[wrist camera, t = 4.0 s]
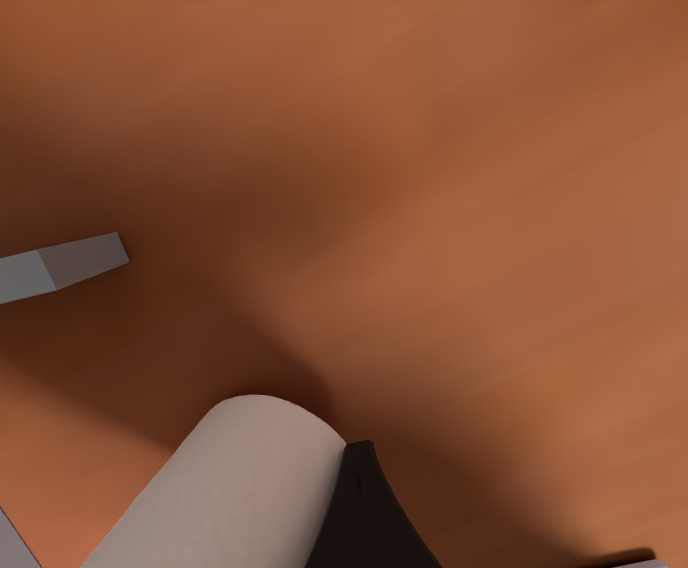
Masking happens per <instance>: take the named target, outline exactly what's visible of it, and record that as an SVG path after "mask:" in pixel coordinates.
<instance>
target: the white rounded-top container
mask: <svg viewBox="0 0 688 568" xmlns="http://www.w3.org/2000/svg"><path fill="white" fill-rule="evenodd" d="M346 445H347V444H346V443H345V441H344V440H343V439H342V438H341V437H340V436H339V435H338V433H336V432H335V431H334V430H333V429H332V428H331V427H330V426H329V425H328V424H327V423H325V422H323V421H322V420H321V419H320V418H318V417H317V416H315V415H313V414H312V413H310V412H308V411H306V410H305V409H304V408H302V407H300V406H298V405H295V404H293V403H291V402H289V401H285V400H283V399H280V398H276V397H273V396H266V395H246V396H237V397H233V398H230V399H226V400H223V401H222V402H220V403H218V404H217V405H215V406H214V407H213V408H212V409H211V410H210V411H209V412H208V413H207V414H206V415H205V416H204V417H203V418H202V420H201V421H200V422H199V423H198V425H197V426H196V427H195V428H194V429H193V431H192V432H191V433H190V434H189V435H188V436H187V438H186V439H185V440H184V441H183V443H182V444H181V445H180V446H179V448H178V449H177V450H176V451H175V453H174V454H173V455H172V456H171V458H170V459H169V460H168V461H167V462H166V463H165V464H164V465H163V467H162V468H161V469H160V471H159V472H158V473H157V474H156V475H155V476H154V477H153V478H152V480H151V481H150V482H149V483H148V485H147V486H146V487H145V488H144V489H143V490H142V491H141V492H140V493H139V494H138V496H137V497H136V498H135V500H134V501H133V502H132V504H131V505H130V506H129V507H128V508H127V510H126V511H125V512H124V514H123V515H122V516H121V518H120V519H119V520H118V521H117V522H116V524H115V525H114V526H113V528H112V529H111V530H110V531H109V532H108V533H107V535H106V536H105V537H104V538H103V540H102V541H101V542H100V544H99V545H98V546H97V547H96V548H95V549H94V550H93V552H92V553H91V554H90V555H89V556H88V557H87V558H86V560H85V561H84V563H83V564H82V565H81V567H80V568H304V567H305V565H306V562H307V560H308V558H309V556H310V554H311V551H312V549H313V547H314V544H315V542H316V539H317V537H318V534H319V532H320V529H321V526H322V524H323V521H324V518H325V516H326V513H327V510H328V507H329V504H330V501H331V498H332V495H333V491H334V488H335V485H336V482H337V478H338V474H339V470H340V466H341V462H342V457H343V451H344V447H345V446H346Z"/></svg>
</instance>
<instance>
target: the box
mask: <svg viewBox="0 0 688 568" xmlns="http://www.w3.org/2000/svg"><path fill="white" fill-rule="evenodd" d="M129 262H130V261H129V259H128V256H127V254H126V252H125V249H124V247H123V245H122V242H121V240H120V238H119V235H118V233H117V232H113V233H109V234H104V235H100V236H95V237H91V238H86V239H82V240H77V241H73V242H68V243H64V244H59V245H55V246H50V247H46V248H41V249H37V250H33V251H29V252H25V253H20V254H16V255H12V256H8V257H4V258H0V304H2V303H6V302H10V301H14V300H19V299H23V298H27V297H31V296H35V295H39V294H43V293H48V292H52V291H56V290H59V289H62V288H64V287H67V286H69V285H72V284H75V283H77V282H80V281H82V280H85V279H87V278H90V277H93V276H95V275H98V274H100V273H103V272H106V271H108V270H111V269H113V268H116V267H119V266H121V265H124V264H126V263H129ZM0 568H41V567H40V565H39V564H38V563H37V561H36V560H35V558H34V557H33V555H32V554H31V552H30V551H29V549H28V548H27V547H26V545H25V544H24V542H23V541H22V539H21V538H20V536H19V535H18V533H17V532H16V531H15V529H14V528H13V526H12V525H11V523H10V522H9V520H8V519H7V517H6V516H5V515H4V513H3V512H2V510H1V509H0Z"/></svg>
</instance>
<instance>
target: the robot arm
mask: <svg viewBox="0 0 688 568" xmlns="http://www.w3.org/2000/svg"><path fill="white" fill-rule="evenodd" d="M304 568H442V566H441V565H440V564H439V562H438V561H437V560H436V558H435V557H434V556H433V554H432V553H431V551H430V550H429V549H428V547H427V546H426V544H425V543H424V542H423V540H422V539H421V537H420V536H419V534H418V533H417V531H416V530H415V528H414V527H413V525H412V524H411V522H410V521H409V519H408V517H407V516H406V514H405V513H404V511H403V509H402V508H401V506H400V504H399V502H398V501H397V499H396V497H395V495H394V493H393V492H392V490H391V488H390V486H389V484H388V482H387V480H386V478H385V476H384V474H383V472H382V469H381V467H380V465H379V462H378V460H377V457H376V453H375V449H374V445H373V442H372V441H370V440H365V441H360V442H356V443H351V444H347V445H346V446H345V447H344V451H343V457H342V462H341V466H340V470H339V474H338V478H337V482H336V485H335V488H334V491H333V495H332V498H331V501H330V504H329V507H328V510H327V513H326V516H325V518H324V521H323V524H322V526H321V529H320V532H319V534H318V537H317V539H316V542H315V544H314V547H313V549H312V551H311V554H310V556H309V558H308V560H307V562H306V565H305V567H304ZM613 568H669V567H668V566H667V565H666V564H665V563H664V562H663V561H662V560H658V559H654V560H648V561H643V562H638V563H633V564H628V565H623V566H618V567H613Z"/></svg>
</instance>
